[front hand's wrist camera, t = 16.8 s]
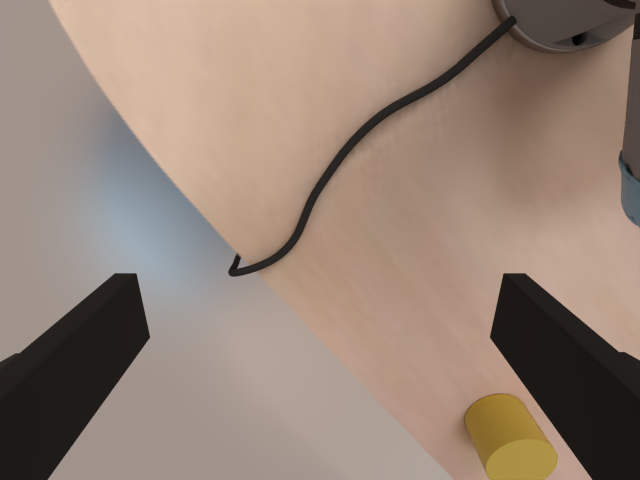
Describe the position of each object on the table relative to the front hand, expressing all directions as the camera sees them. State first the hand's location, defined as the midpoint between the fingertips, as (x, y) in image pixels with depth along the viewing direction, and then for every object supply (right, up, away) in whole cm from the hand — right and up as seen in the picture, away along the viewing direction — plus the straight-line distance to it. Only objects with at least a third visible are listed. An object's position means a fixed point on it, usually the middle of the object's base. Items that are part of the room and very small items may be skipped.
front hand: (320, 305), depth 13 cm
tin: (+26, -24, +38) cm, 52 cm away
